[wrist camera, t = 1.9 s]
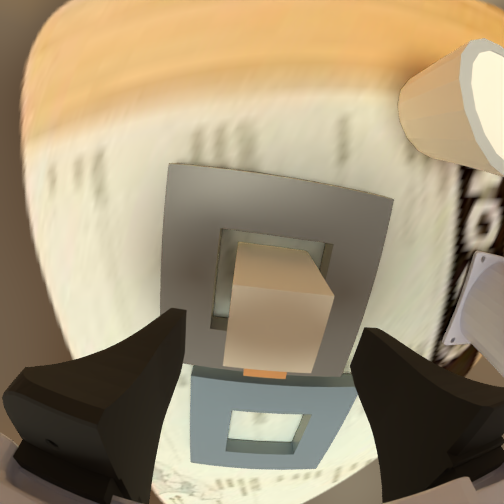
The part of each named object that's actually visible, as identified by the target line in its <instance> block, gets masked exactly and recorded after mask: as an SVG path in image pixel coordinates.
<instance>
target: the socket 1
mask: <svg viewBox="0 0 504 504" xmlns="http://www.w3.org/2000/svg"><path fill="white" fill-rule="evenodd" d="M393 201H394V199H391V198H388V197H385V196H381V195H377V194H372V193H368V192H363V191H359V190H354V189H349V188H344V187H339V186H334V185H329V184H324V183H319V182H313V181H308V180H302V179H296V178H290V177H284V176H278V175H271V174H265V173H258V172H251V171H243V170H235V169H227V168H219V167H210V166H200V165H190V164H179V163H169V166H168V175H167V185H166V196H165V207H164V221H163V237H162V257H161V292H160V315H162V314H163V313H164V312H166V311H167V310H169V309H170V308H177V309H184V310H187V313H186V339H185V355H184V360H183V363H184V364H191V365H197V366H204V367H211V368H218V369H226V370H234V371H243V369H244V368H235V367H227V366H223V360H224V352H225V343H226V335H227V326H228V318H223V317H215V316H213V307H214V297H215V287H216V278H217V268H218V259H219V250H220V241H221V233H222V229H230V230H237V231H245V232H252V233H260V234H267V235H274V236H282V237H289V238H296V239H303V240H310V241H317V242H323V243H325V248H324V253H323V257H322V262H321V266H320V273H321V274H322V276H323V278H324V279H325V281H326V283H327V284H328V286H329V288H330V289H331V291H332V293H333V294H334V300H333V304H332V307H331V311H330V314H329V318H328V321H327V325H326V328H325V331H324V335H323V338H322V341H321V344H320V348H319V351H318V354H317V357H316V360H315V363H314V366H313V369H312V372H311V373H295V372H287V375H295V376H321V377H341V375H342V373H343V370H344V368H345V365H346V363H347V360H348V358H349V355H350V352H351V350H352V347H353V344H354V342H355V339H356V336H357V333H358V330H359V327H360V324H361V322H362V319H363V316H364V313H365V309H366V306H367V303H368V300H369V297H370V293H371V290H372V287H373V283H374V280H375V276H376V273H377V269H378V266H379V262H380V258H381V254H382V250H383V246H384V242H385V238H386V234H387V229H388V225H389V220H390V216H391V211H392V206H393Z"/></svg>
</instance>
